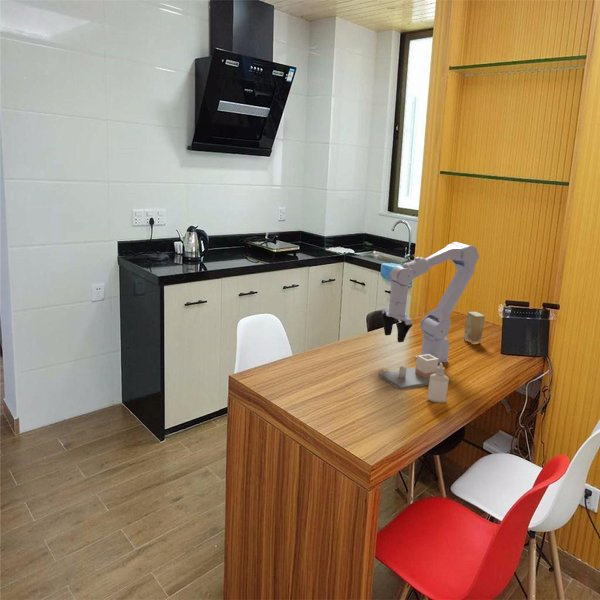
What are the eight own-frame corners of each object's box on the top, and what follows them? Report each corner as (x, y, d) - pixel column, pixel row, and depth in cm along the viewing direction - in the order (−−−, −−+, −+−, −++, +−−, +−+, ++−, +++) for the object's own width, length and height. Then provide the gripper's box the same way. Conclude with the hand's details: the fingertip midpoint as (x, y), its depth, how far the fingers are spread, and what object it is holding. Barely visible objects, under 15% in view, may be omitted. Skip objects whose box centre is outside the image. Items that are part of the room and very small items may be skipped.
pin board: (425, 368, 189) (427, 356, 188) (449, 381, 179) (450, 368, 178) (378, 375, 181) (380, 363, 179) (400, 389, 170) (402, 376, 169)
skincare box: (462, 339, 223) (466, 311, 220) (471, 339, 225) (476, 311, 222) (472, 345, 217) (476, 316, 214) (481, 344, 219) (485, 315, 216)
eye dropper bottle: (440, 405, 161) (445, 367, 158) (424, 399, 165) (429, 362, 162) (448, 401, 164) (453, 364, 161) (432, 395, 168) (436, 359, 165)
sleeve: (426, 370, 185) (428, 353, 184) (436, 375, 181) (438, 358, 179) (415, 372, 183) (417, 355, 181) (424, 377, 178) (426, 360, 177)
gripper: (376, 296, 191) (373, 333, 194) (401, 307, 178) (397, 346, 182) (392, 295, 194) (389, 331, 197) (418, 306, 182) (414, 344, 185)
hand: (394, 338), depth 190 cm, fingers open, 7 cm apart
